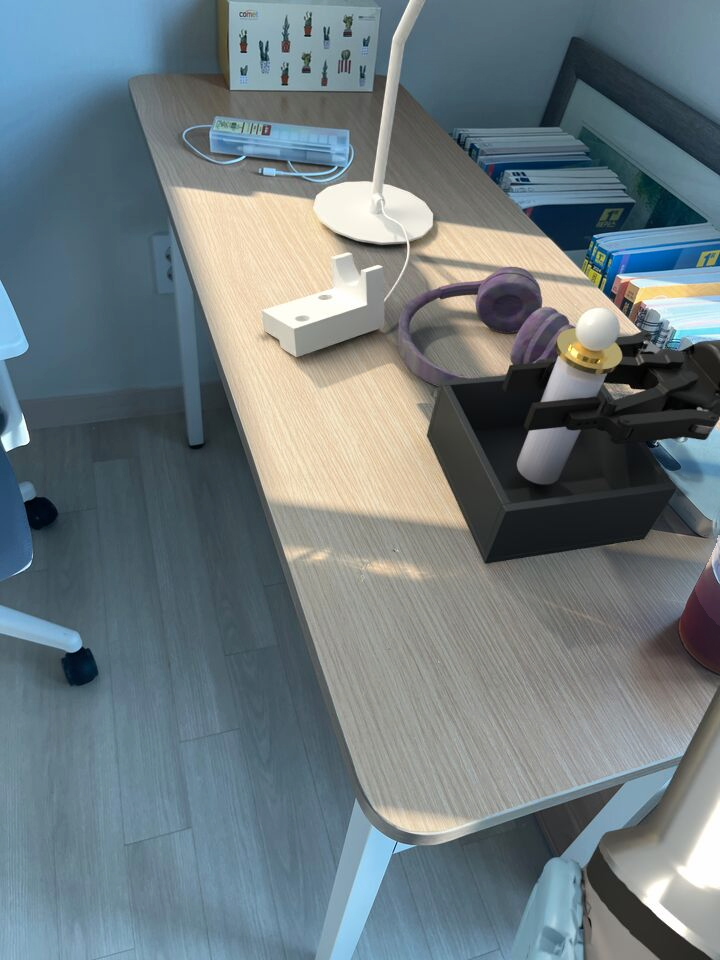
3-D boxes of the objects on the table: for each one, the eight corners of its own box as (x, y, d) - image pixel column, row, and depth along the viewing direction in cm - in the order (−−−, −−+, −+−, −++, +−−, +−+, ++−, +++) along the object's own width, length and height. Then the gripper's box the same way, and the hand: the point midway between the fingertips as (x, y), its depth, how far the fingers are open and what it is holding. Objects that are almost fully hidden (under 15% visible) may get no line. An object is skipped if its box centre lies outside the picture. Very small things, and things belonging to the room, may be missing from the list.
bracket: (350, 309, 98) (348, 252, 94) (384, 326, 94) (383, 266, 89) (264, 337, 92) (257, 277, 88) (296, 357, 87) (290, 294, 83)
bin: (644, 539, 76) (677, 488, 70) (484, 564, 71) (506, 511, 66) (569, 420, 87) (592, 367, 81) (426, 435, 83) (440, 380, 77)
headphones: (517, 298, 102) (378, 332, 98) (526, 244, 96) (377, 278, 92) (586, 385, 91) (431, 427, 87) (601, 331, 84) (435, 374, 81)
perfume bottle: (574, 488, 77) (652, 327, 62) (525, 498, 75) (594, 335, 61) (546, 449, 81) (615, 288, 66) (499, 458, 79) (558, 295, 64)
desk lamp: (301, 183, 118) (327, -199, 85) (410, 183, 123) (475, -180, 90) (356, 327, 94) (422, -126, 61) (490, 321, 99) (617, -104, 66)
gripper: (765, 467, 72) (545, 496, 66) (670, 352, 83) (474, 368, 77) (809, 409, 66) (573, 435, 60) (700, 293, 77) (492, 306, 71)
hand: (518, 397), depth 69 cm, fingers closed on perfume bottle, 4 cm apart
